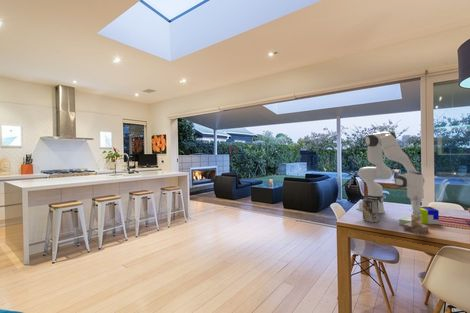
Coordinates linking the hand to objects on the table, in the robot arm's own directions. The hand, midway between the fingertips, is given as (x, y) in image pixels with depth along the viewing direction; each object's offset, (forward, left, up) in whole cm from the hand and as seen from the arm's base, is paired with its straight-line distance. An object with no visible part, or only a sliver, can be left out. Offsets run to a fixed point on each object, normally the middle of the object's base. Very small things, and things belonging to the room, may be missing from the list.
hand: (415, 215), depth 159 cm
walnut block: (+1, -1, -11) cm, 11 cm away
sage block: (-7, +9, -10) cm, 16 cm away
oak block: (+1, 0, -6) cm, 6 cm away
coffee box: (-28, -4, -10) cm, 30 cm away
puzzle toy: (-3, +25, -10) cm, 27 cm away
